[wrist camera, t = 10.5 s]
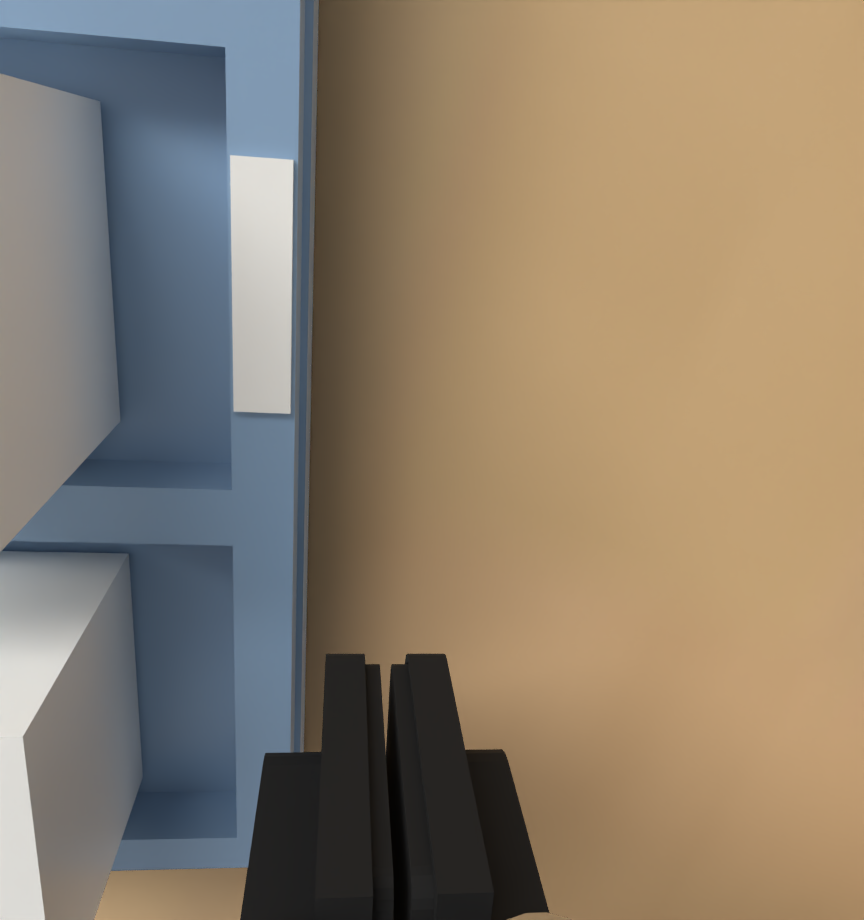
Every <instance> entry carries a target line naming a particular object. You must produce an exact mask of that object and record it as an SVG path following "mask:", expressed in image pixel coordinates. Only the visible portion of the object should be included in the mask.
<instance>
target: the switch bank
mask: <svg viewBox="0 0 864 920" xmlns="http://www.w3.org/2000/svg"><path fill="white" fill-rule="evenodd" d="M318 23H319V0H0V74H4V75H8V76H11V77H15V78H18V79H22V80H25V81H29V82H33V83H36V84H40V85H43V86H47V87H50V88H54V89H58V90H61V91H65V92H68V93H72V94H75V95H79V96H83V97H86V98H90V99H93V100H97V101H100V105H101V121H102V137H103V153H104V169H105V184H106V200H107V216H108V232H109V248H110V264H111V280H112V296H113V311H114V327H115V343H116V359H117V375H118V391H119V407H120V422H119V423H118V424H117V426H116V427H115V428H114V429H113V430H112V431H111V432H110V433H109V434H108V435H107V436H106V438H105V439H104V440H103V441H102V442H101V443H100V444H99V445H98V446H97V447H96V448H95V450H94V451H93V452H92V453H91V454H90V455H89V456H88V457H87V458H86V459H85V460H84V462H83V463H82V464H81V465H80V466H79V467H78V468H77V469H76V470H75V471H74V472H73V473H72V475H71V476H70V477H69V478H68V479H67V480H66V481H65V482H64V483H63V484H62V485H61V487H60V488H59V489H58V490H57V491H56V492H55V493H54V494H53V495H52V496H51V497H50V499H49V500H48V501H47V502H46V503H45V504H44V505H43V506H42V507H41V508H40V509H39V511H38V512H37V513H36V514H35V515H34V516H33V517H32V518H31V519H30V520H29V521H28V523H27V524H26V525H25V526H24V527H23V528H22V529H21V530H20V531H19V532H18V533H17V535H16V536H15V537H14V538H13V539H12V540H11V541H10V542H9V543H8V544H7V545H6V547H5V548H4V549H3V550H2V551H26V552H78V553H129V565H130V581H131V597H132V613H133V629H134V645H135V661H136V676H137V692H138V708H139V724H140V740H141V756H142V772H143V778H142V781H141V784H140V787H139V790H138V792H137V795H136V798H135V801H134V804H133V807H132V810H131V813H130V816H129V819H128V822H127V825H126V828H125V830H124V833H123V836H122V839H121V842H120V845H119V848H118V851H117V854H116V857H115V860H114V863H113V866H112V869H111V871H121V870H161V869H202V868H242V867H248V863H249V857H250V850H251V843H252V836H253V829H254V822H255V815H256V808H257V801H258V794H259V787H260V780H261V773H262V766H263V760H264V756H265V753H290V752H304V723H305V673H306V623H307V573H308V523H309V473H310V423H311V373H312V323H313V273H314V223H315V173H316V123H317V73H318Z"/></svg>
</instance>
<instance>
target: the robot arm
mask: <svg viewBox="0 0 864 920" xmlns="http://www.w3.org/2000/svg"><path fill="white" fill-rule="evenodd" d="M240 920H571V919H570V918H568V917H564V916H559V915H555V914H551V913H549V910H548V907H547V903H546V899H545V896H544V892H543V888H542V884H541V881H540V877H539V873H538V870H537V866H536V862H535V859H534V855H533V851H532V848H531V844H530V840H529V837H528V833H527V829H526V826H525V822H524V818H523V815H522V811H521V807H520V804H519V800H518V796H517V793H516V789H515V785H514V782H513V778H512V774H511V771H510V767H509V763H508V760H507V757H506V754H505V752H504V751H503V750H502V749H499V750H465V747H464V742H463V737H462V732H461V727H460V722H459V717H458V712H457V707H456V702H455V697H454V692H453V688H452V683H451V678H450V673H449V668H448V663H447V658H446V655H445V654H407V655H406V660H405V664H392V665H391V674H390V692H389V710H388V728H387V746H386V753H385V738H384V722H383V707H382V691H381V676H380V665H379V664H365V655H364V654H326V663H325V685H324V707H323V729H322V751H321V752H290V753H265V756H264V760H263V766H262V773H261V780H260V787H259V794H258V801H257V808H256V815H255V822H254V829H253V836H252V843H251V850H250V857H249V863H248V870H247V877H246V884H245V891H244V898H243V905H242V912H241V919H240Z"/></svg>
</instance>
